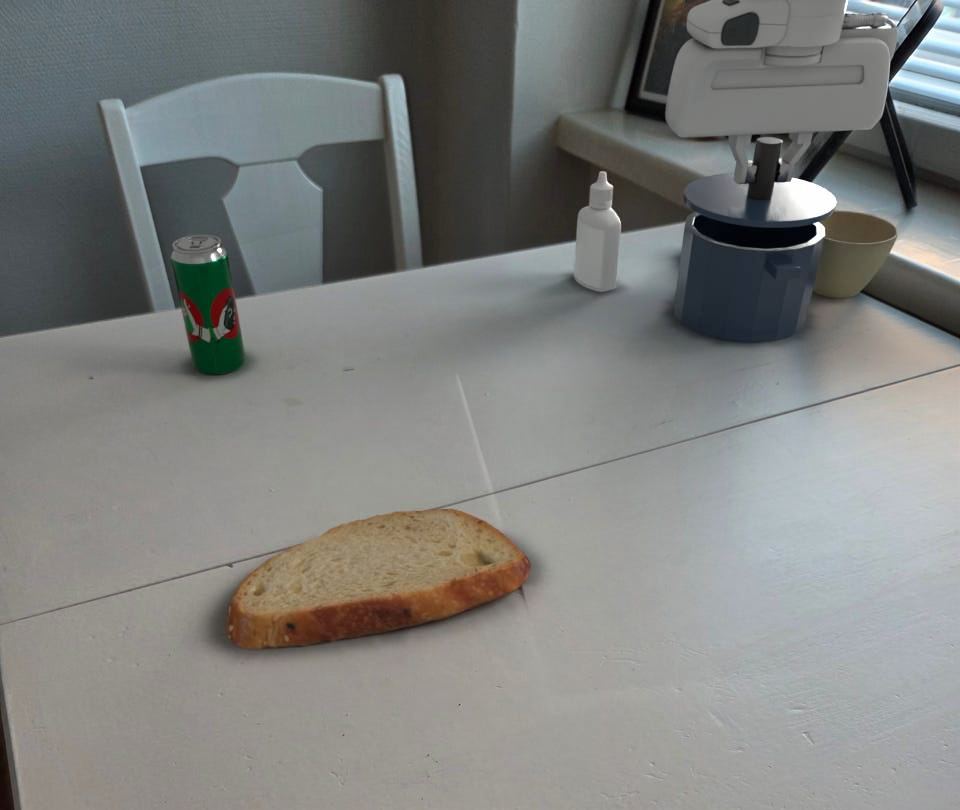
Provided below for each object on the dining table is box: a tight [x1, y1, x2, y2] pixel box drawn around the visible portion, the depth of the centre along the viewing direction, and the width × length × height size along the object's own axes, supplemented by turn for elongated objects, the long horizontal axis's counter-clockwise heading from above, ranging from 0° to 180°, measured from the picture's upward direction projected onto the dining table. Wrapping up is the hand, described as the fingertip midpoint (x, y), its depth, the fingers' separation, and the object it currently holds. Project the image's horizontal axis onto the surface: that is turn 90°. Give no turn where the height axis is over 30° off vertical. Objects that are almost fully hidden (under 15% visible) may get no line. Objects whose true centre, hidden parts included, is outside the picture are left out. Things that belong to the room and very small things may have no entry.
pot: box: [672, 211, 825, 344], centre depth 101 cm, size 14×19×10 cm
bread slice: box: [225, 508, 532, 651], centre depth 68 cm, size 18×18×4 cm
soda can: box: [170, 234, 247, 376], centre depth 92 cm, size 5×5×12 cm
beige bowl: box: [812, 209, 900, 299], centre depth 107 cm, size 10×10×7 cm
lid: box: [683, 136, 837, 228], centre depth 95 cm, size 15×15×6 cm
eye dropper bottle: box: [573, 170, 622, 293], centre depth 107 cm, size 4×6×12 cm
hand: (761, 181), depth 95 cm, fingers closed on lid, 2 cm apart
